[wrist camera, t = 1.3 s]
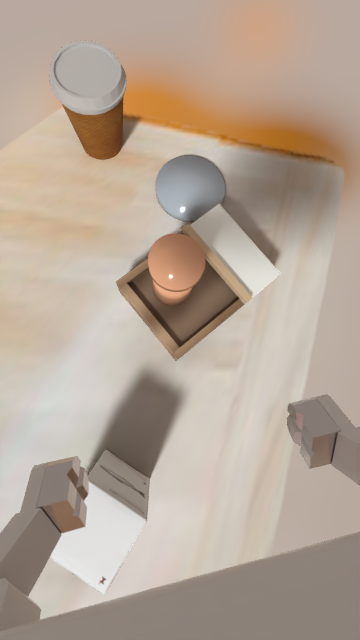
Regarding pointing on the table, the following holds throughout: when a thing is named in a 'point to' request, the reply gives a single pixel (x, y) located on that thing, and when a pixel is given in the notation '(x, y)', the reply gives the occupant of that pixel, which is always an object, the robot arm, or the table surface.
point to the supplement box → (106, 523)
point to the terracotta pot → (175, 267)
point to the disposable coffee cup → (91, 95)
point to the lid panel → (232, 253)
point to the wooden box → (180, 308)
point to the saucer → (189, 187)
